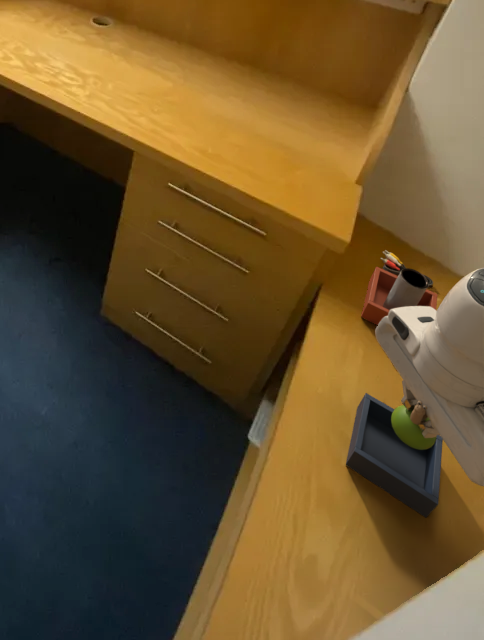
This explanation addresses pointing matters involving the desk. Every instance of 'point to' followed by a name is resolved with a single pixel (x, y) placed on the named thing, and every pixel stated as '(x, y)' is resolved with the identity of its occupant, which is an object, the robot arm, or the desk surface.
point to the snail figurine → (411, 426)
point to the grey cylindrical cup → (406, 289)
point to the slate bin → (394, 458)
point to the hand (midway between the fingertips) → (417, 418)
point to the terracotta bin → (378, 293)
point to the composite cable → (396, 265)
